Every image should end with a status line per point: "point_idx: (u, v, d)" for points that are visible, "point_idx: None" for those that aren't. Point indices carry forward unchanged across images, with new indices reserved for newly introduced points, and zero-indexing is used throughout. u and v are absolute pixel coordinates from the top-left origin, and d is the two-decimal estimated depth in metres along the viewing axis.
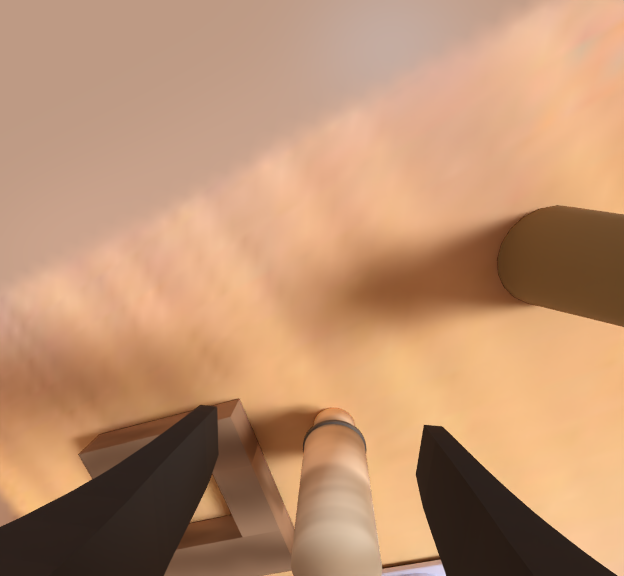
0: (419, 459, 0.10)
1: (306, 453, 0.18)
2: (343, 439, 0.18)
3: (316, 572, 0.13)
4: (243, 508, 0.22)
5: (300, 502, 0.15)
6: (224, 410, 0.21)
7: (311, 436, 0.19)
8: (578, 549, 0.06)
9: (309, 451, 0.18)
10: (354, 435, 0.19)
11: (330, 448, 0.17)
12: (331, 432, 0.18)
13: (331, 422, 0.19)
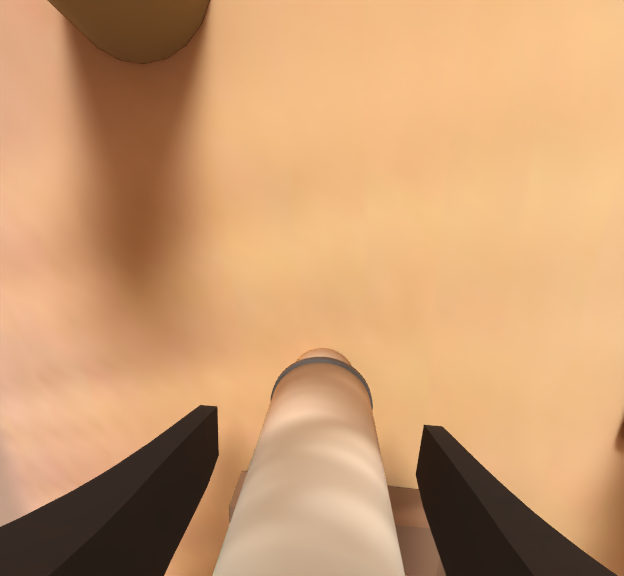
0: (419, 459, 0.10)
1: None
2: (275, 398, 0.11)
3: None
4: None
5: None
6: None
7: None
8: (578, 549, 0.06)
9: None
10: (294, 373, 0.11)
11: None
12: None
13: (272, 393, 0.12)
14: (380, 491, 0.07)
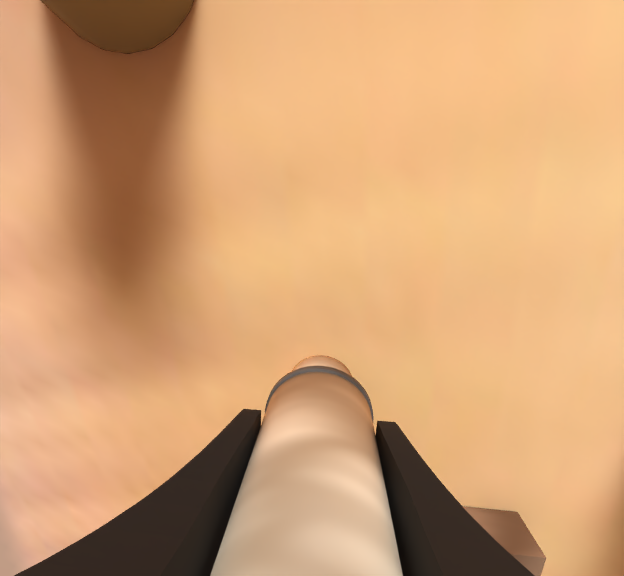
0: None
1: None
2: (269, 411, 0.10)
3: None
4: None
5: None
6: None
7: None
8: (493, 540, 0.06)
9: None
10: (289, 384, 0.11)
11: None
12: None
13: (266, 404, 0.11)
14: (383, 522, 0.06)
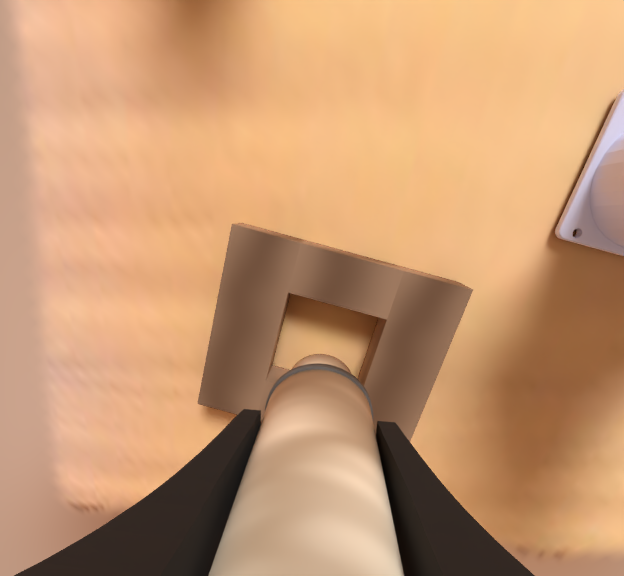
0: None
1: None
2: (268, 409, 0.10)
3: None
4: (350, 291, 0.17)
5: None
6: None
7: None
8: (493, 540, 0.06)
9: None
10: (288, 382, 0.11)
11: None
12: None
13: (266, 403, 0.11)
14: (382, 515, 0.06)
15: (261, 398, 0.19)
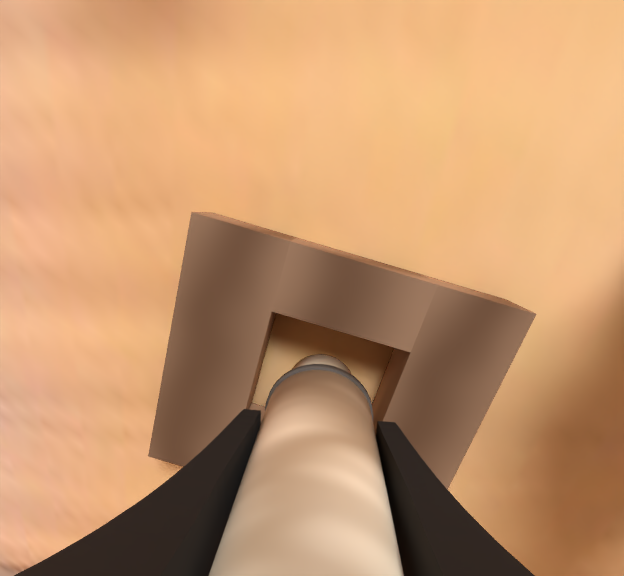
0: None
1: None
2: (268, 410, 0.10)
3: None
4: (359, 311, 0.12)
5: None
6: None
7: None
8: (493, 540, 0.06)
9: None
10: (288, 383, 0.11)
11: None
12: None
13: (266, 403, 0.11)
14: (382, 516, 0.06)
15: None
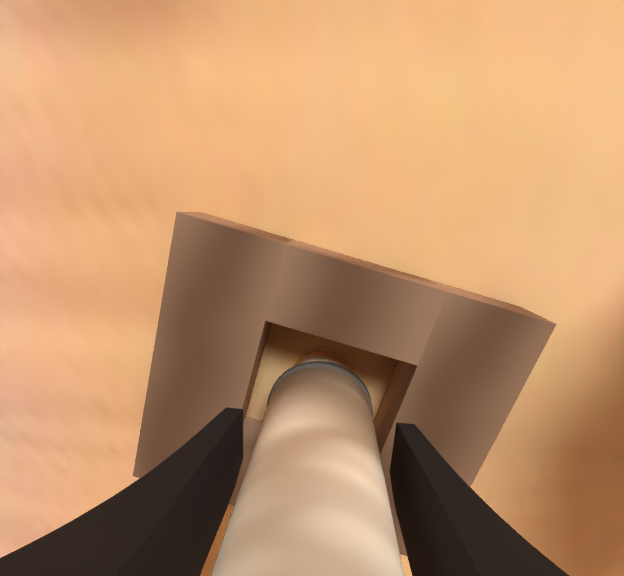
0: (392, 456, 0.10)
1: None
2: (270, 406, 0.10)
3: None
4: (361, 321, 0.11)
5: None
6: None
7: None
8: (528, 544, 0.06)
9: None
10: (290, 379, 0.11)
11: None
12: None
13: (268, 399, 0.12)
14: (381, 506, 0.07)
15: None
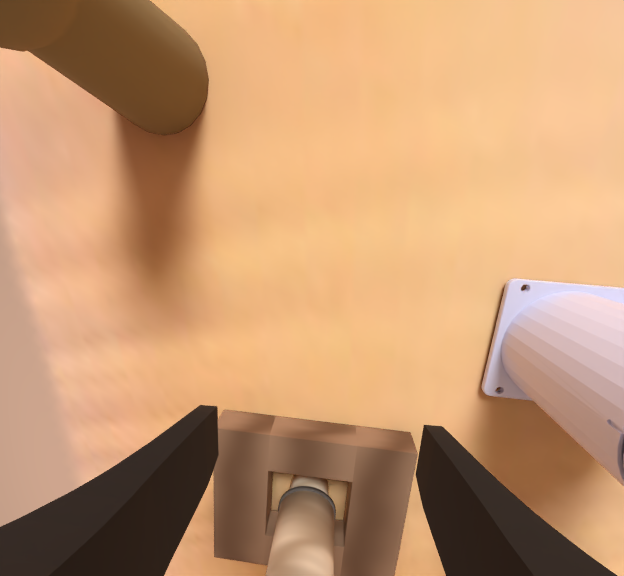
0: (419, 459, 0.10)
1: None
2: (277, 519, 0.20)
3: None
4: (317, 464, 0.21)
5: None
6: None
7: None
8: (578, 549, 0.06)
9: None
10: (286, 501, 0.21)
11: None
12: None
13: (278, 509, 0.22)
14: None
15: (264, 548, 0.23)
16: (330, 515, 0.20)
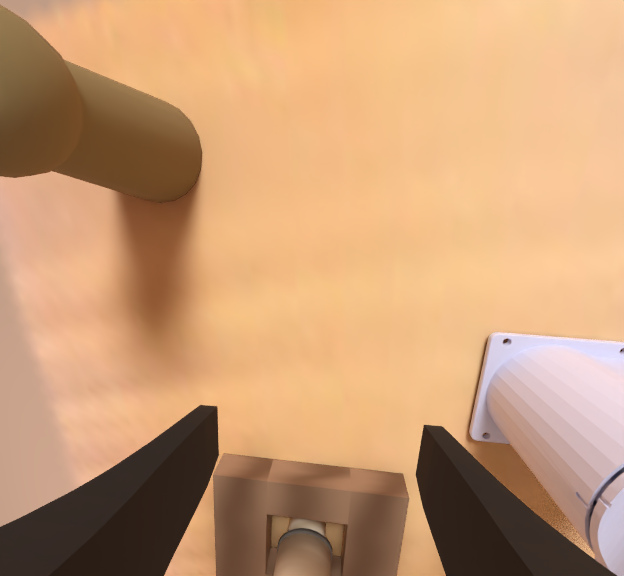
0: (419, 459, 0.10)
1: None
2: (276, 563, 0.21)
3: None
4: (313, 508, 0.21)
5: None
6: None
7: None
8: (578, 549, 0.06)
9: None
10: (284, 544, 0.22)
11: None
12: (276, 563, 0.22)
13: (277, 550, 0.22)
14: None
15: None
16: (327, 558, 0.21)
